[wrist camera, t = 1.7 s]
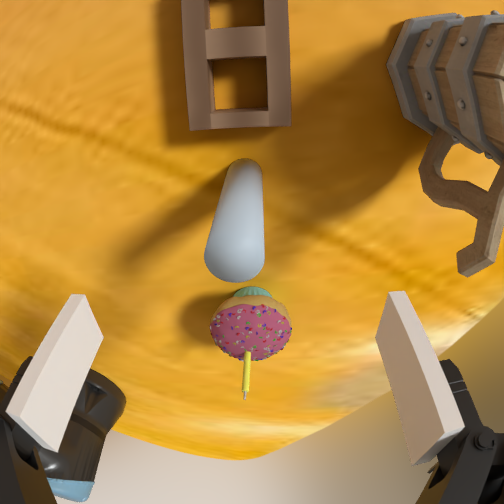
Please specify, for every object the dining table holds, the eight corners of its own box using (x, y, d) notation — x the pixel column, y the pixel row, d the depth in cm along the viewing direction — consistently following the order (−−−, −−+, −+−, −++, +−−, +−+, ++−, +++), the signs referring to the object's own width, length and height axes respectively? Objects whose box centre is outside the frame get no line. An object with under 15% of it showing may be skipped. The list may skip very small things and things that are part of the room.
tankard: (415, -8, 18) (520, -38, 6) (505, 65, 20) (611, 91, 8) (336, 167, 28) (396, 254, 16) (433, 216, 30) (509, 305, 18)
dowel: (228, 191, 30) (207, 282, 18) (226, 159, 28) (200, 232, 16) (262, 190, 30) (265, 282, 18) (261, 157, 28) (264, 230, 16)
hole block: (196, 124, 26) (189, 130, 24) (187, -20, 19) (180, -30, 16) (288, 120, 26) (291, 126, 24) (282, -26, 19) (285, -37, 16)
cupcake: (279, 331, 39) (283, 413, 29) (211, 322, 39) (198, 405, 29) (296, 277, 35) (308, 363, 25) (218, 265, 34) (202, 352, 24)
